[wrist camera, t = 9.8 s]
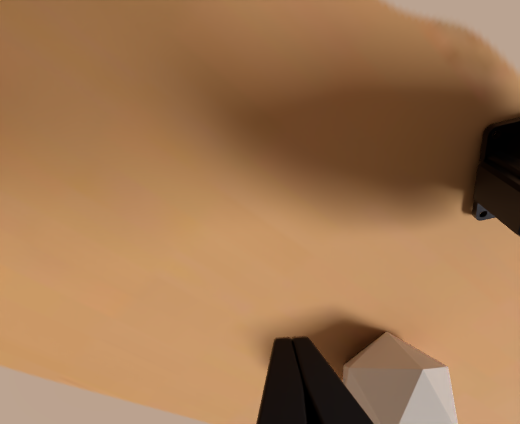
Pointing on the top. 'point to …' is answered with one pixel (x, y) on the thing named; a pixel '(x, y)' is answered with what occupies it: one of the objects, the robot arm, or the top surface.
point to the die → (400, 384)
